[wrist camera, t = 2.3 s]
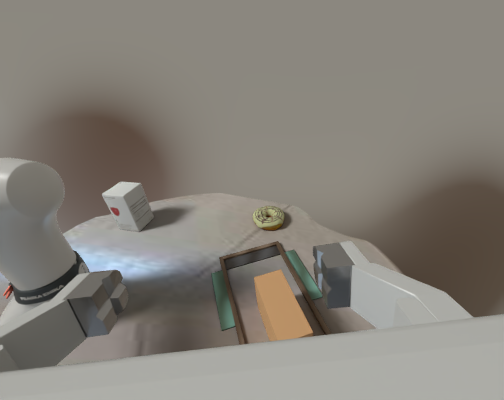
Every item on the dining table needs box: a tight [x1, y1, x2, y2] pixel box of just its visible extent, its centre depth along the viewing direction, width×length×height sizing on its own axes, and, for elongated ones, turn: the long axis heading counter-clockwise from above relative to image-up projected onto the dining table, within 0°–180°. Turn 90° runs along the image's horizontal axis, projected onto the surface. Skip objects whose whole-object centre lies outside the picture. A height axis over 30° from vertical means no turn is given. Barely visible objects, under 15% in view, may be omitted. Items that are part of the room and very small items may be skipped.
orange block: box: [254, 269, 313, 341], centre depth 46 cm, size 6×14×10 cm, turn 16°
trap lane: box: [211, 241, 331, 345], centre depth 54 cm, size 24×37×1 cm, turn 16°
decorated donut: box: [253, 206, 284, 230], centre depth 79 cm, size 10×11×4 cm
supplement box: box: [102, 182, 154, 232], centre depth 82 cm, size 9×9×15 cm
